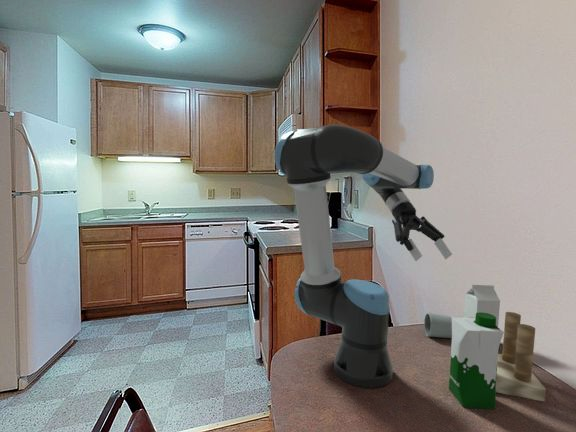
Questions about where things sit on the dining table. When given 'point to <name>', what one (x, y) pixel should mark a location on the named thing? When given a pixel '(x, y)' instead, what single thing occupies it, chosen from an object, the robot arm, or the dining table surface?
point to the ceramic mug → (438, 325)
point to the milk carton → (482, 301)
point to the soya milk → (474, 360)
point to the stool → (518, 361)
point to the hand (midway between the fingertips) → (434, 257)
